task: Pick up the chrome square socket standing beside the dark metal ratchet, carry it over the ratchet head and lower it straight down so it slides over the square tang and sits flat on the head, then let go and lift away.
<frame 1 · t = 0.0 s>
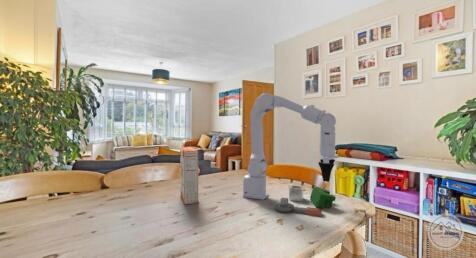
hand: (326, 179, 99), 10 cm above the table, tool pointing down, fingers open, 7 cm apart
clamp: (322, 205, 100), on the table
ratchet: (284, 209, 93), on the table
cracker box: (188, 199, 105), on the table
socket: (296, 199, 106), on the table
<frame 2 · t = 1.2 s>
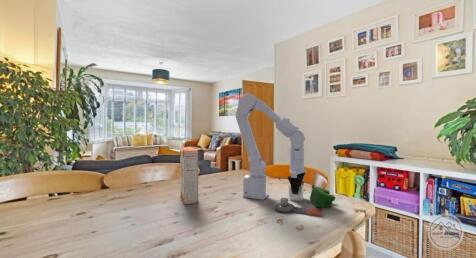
hand: (296, 191, 106), 3 cm above the table, tool pointing down, fingers open, 7 cm apart
nothing on the table moved.
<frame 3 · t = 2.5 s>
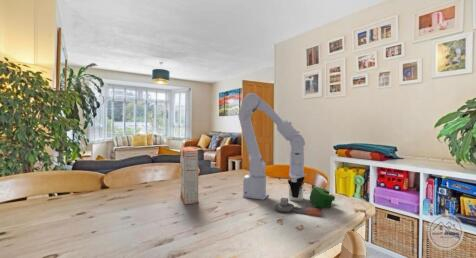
hand: (296, 195, 106), 1 cm above the table, tool pointing down, fingers closed on socket, 5 cm apart
socket: (296, 199, 106), on the table, touching gripper
everything else where it was.
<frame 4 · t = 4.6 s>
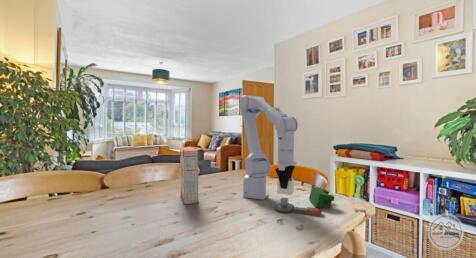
hand: (285, 186, 93), 8 cm above the table, tool pointing down, fingers closed on socket, 5 cm apart
socket: (285, 192, 93), point 6 cm above the table, touching gripper
everything else where it was.
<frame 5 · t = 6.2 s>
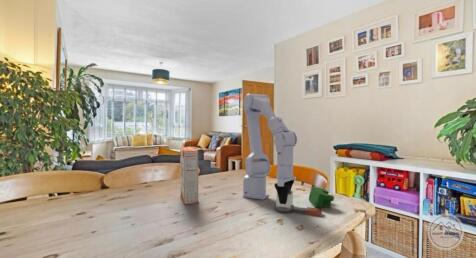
hand: (284, 201, 93), 3 cm above the table, tool pointing down, fingers closed on socket, 5 cm apart
socket: (284, 205, 93), point 2 cm above the table, touching gripper, ratchet
everything else where it was.
when the fingers open (3 cm above the table, at t = 7.1 s): socket stays where it is, resting on ratchet.
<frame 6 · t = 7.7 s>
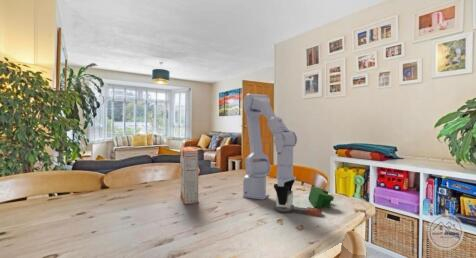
hand: (284, 201, 93), 3 cm above the table, tool pointing down, fingers open, 7 cm apart
socket: (284, 205, 93), point 2 cm above the table, touching ratchet
everything else where it was.
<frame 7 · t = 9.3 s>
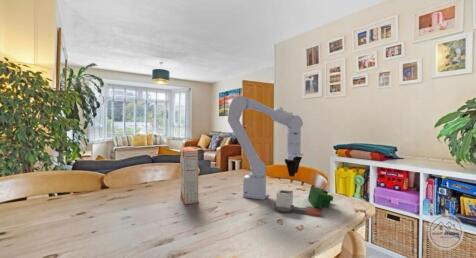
hand: (293, 174, 110), 9 cm above the table, tool pointing down, fingers open, 7 cm apart
nothing on the table moved.
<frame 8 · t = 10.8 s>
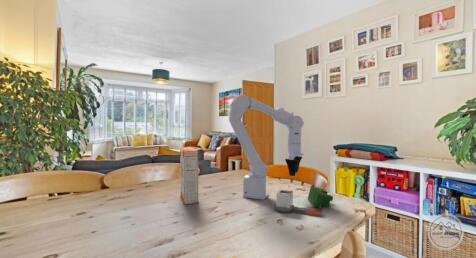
hand: (293, 174, 111), 9 cm above the table, tool pointing down, fingers open, 7 cm apart
nothing on the table moved.
at the end: socket 0.1 cm off-centre on the ratchet, point 1.6 cm above the ratchet's base; socket tilted 0°; the gripper is holding nothing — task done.
